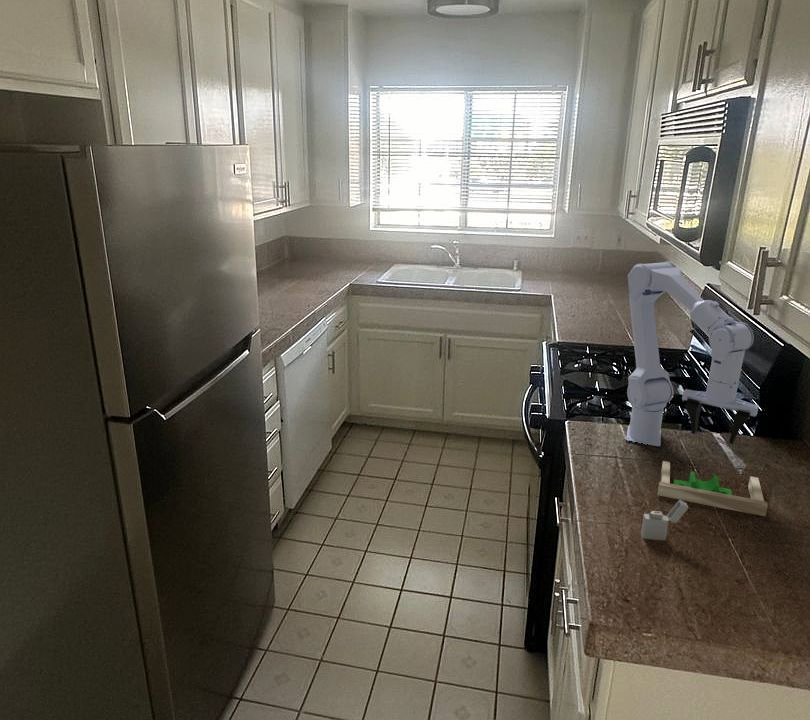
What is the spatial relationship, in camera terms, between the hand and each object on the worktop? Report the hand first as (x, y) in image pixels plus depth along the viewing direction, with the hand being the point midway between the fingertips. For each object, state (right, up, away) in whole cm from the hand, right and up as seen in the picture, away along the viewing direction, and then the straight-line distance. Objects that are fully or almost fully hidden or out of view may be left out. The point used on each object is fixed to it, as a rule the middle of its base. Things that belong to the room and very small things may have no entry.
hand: (712, 436), depth 133 cm
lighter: (-19, -17, -19) cm, 32 cm away
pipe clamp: (-4, -9, -3) cm, 10 cm away
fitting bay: (-2, -11, -3) cm, 12 cm away
